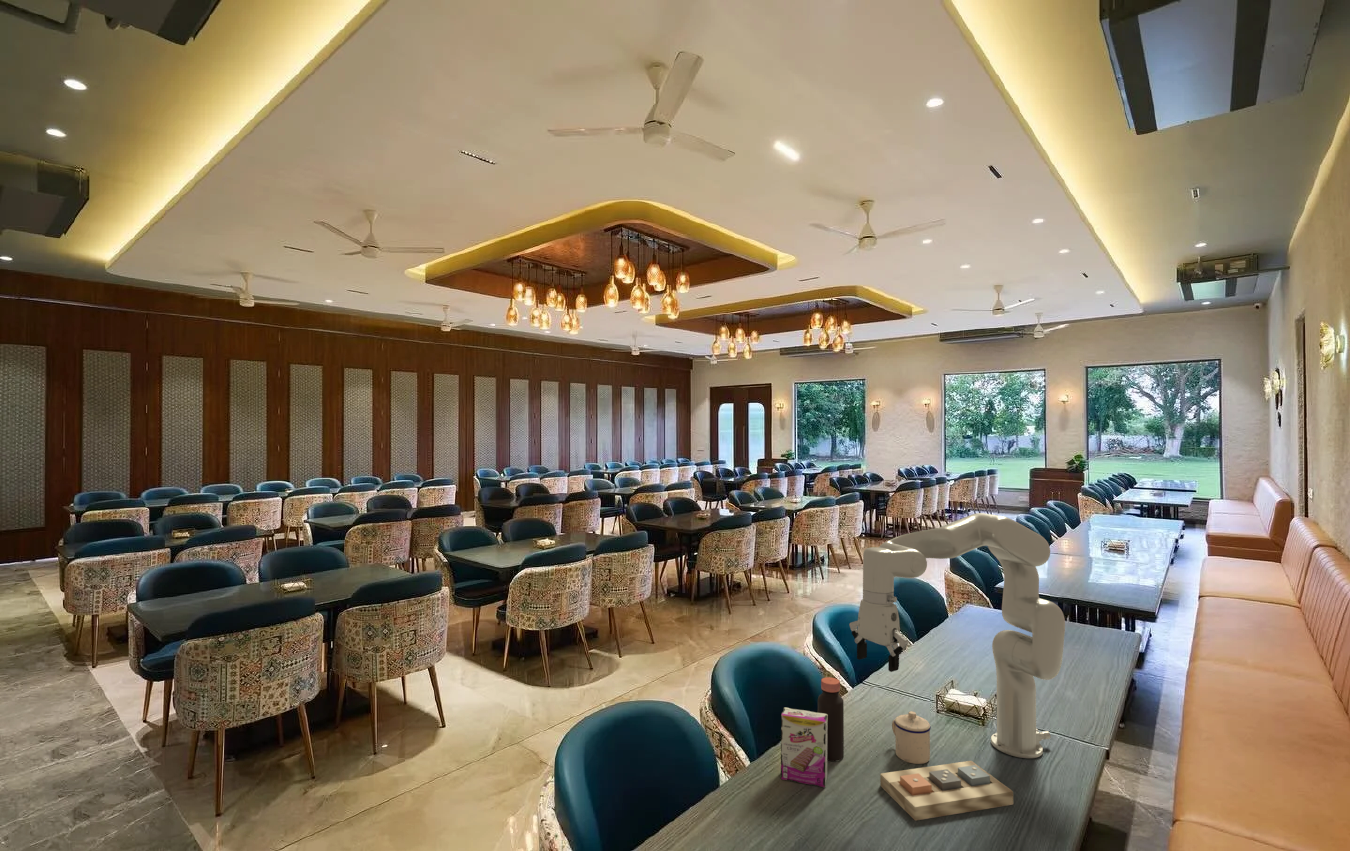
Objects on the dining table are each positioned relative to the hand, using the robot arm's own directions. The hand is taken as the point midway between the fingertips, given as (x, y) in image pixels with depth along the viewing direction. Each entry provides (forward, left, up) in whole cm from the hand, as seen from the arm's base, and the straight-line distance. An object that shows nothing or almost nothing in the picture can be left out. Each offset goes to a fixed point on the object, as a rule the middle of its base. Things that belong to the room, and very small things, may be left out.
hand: (877, 664), depth 157 cm
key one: (-3, +12, -26) cm, 29 cm away
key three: (-11, +12, -26) cm, 31 cm away
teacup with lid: (-14, -7, -28) cm, 32 cm away
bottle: (+7, -11, -28) cm, 31 cm away
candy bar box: (+19, -2, -28) cm, 34 cm away
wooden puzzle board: (-11, +12, -28) cm, 32 cm away
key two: (-19, +12, -26) cm, 34 cm away
